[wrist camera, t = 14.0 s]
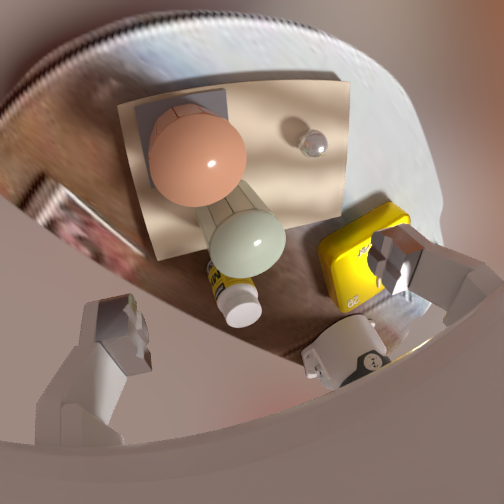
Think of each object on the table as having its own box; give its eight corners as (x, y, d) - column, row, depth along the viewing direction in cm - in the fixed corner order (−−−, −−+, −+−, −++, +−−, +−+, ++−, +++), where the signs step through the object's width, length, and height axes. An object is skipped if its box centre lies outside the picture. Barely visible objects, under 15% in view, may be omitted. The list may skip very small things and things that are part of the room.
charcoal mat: (232, 169, 26) (233, 170, 26) (151, 187, 25) (151, 188, 24) (224, 89, 21) (225, 89, 21) (134, 106, 20) (134, 106, 19)
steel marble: (317, 152, 28) (333, 160, 26) (293, 155, 27) (307, 164, 25) (318, 125, 26) (334, 132, 24) (292, 127, 26) (307, 134, 23)
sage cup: (257, 226, 31) (285, 267, 26) (201, 239, 30) (217, 286, 24) (254, 173, 27) (285, 205, 22) (191, 185, 26) (205, 223, 20)
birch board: (334, 210, 36) (340, 216, 34) (156, 253, 31) (157, 261, 29) (341, 80, 25) (350, 82, 24) (119, 104, 20) (117, 105, 19)
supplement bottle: (207, 251, 33) (225, 301, 27) (245, 250, 35) (270, 296, 28) (204, 282, 36) (220, 333, 29) (239, 279, 37) (261, 327, 31)
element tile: (393, 196, 38) (414, 211, 35) (394, 259, 48) (409, 275, 44) (313, 241, 38) (330, 262, 35) (329, 300, 48) (342, 319, 44)
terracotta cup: (224, 164, 25) (249, 196, 20) (158, 178, 24) (161, 216, 18) (217, 99, 21) (243, 107, 16) (145, 112, 20) (140, 126, 14)
